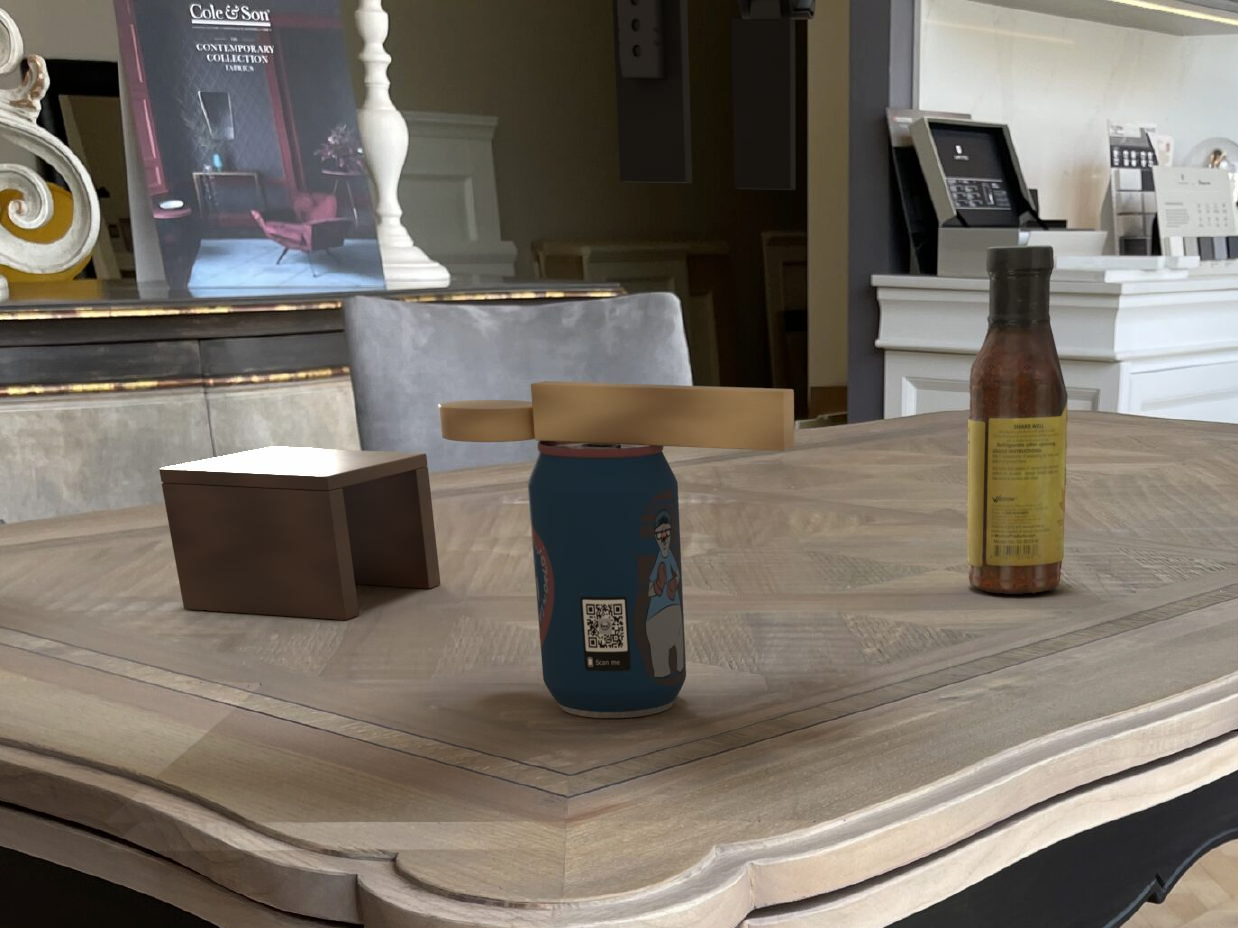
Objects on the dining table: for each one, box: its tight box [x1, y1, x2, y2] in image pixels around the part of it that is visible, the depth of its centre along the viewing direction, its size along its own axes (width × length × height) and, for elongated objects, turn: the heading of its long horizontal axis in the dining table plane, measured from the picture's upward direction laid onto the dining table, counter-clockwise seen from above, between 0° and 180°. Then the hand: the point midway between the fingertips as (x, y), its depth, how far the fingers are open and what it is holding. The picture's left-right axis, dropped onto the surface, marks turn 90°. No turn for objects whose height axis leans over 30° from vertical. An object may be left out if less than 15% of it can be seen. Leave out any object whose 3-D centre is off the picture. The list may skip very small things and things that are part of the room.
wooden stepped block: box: [438, 380, 795, 452], centre depth 77 cm, size 17×5×2 cm, turn 75°
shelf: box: [159, 446, 442, 621], centre depth 105 cm, size 11×12×8 cm
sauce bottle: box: [967, 244, 1069, 595], centre depth 106 cm, size 7×6×20 cm
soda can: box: [527, 441, 687, 719], centre depth 81 cm, size 7×7×12 cm
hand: (714, 187), depth 72 cm, fingers open, 13 cm apart
